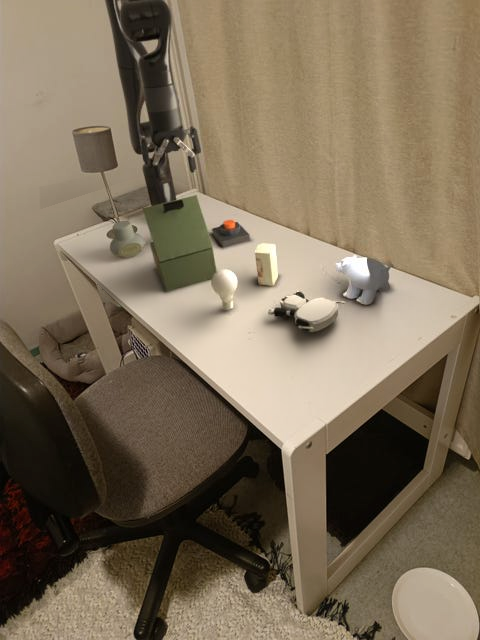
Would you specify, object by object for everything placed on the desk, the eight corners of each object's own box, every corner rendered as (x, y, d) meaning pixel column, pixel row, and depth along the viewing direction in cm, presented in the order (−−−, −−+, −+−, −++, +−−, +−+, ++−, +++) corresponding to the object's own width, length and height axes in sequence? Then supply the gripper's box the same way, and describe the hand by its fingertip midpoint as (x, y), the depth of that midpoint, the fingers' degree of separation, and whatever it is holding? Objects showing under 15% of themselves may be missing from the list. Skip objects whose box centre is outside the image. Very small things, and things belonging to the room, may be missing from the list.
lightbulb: (222, 319, 108) (216, 281, 101) (211, 307, 112) (205, 270, 106) (245, 310, 110) (240, 272, 103) (233, 298, 114) (228, 261, 108)
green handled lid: (142, 209, 115) (142, 202, 110) (196, 195, 118) (198, 189, 113) (159, 262, 115) (160, 258, 110) (212, 247, 119) (215, 243, 113)
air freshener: (115, 263, 137) (106, 234, 131) (110, 252, 143) (101, 224, 137) (149, 253, 140) (141, 224, 134) (143, 243, 146) (135, 215, 140)
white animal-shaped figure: (350, 271, 119) (351, 239, 113) (400, 290, 109) (404, 256, 104) (324, 288, 113) (325, 256, 108) (375, 310, 104) (378, 275, 98)
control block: (212, 234, 146) (210, 223, 143) (237, 227, 148) (236, 216, 145) (223, 248, 137) (221, 236, 135) (250, 240, 139) (248, 229, 137)
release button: (222, 226, 141) (221, 221, 140) (232, 223, 142) (232, 218, 141) (226, 230, 138) (225, 225, 137) (236, 227, 139) (236, 222, 138)
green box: (156, 269, 131) (149, 242, 126) (203, 256, 134) (198, 229, 129) (166, 291, 121) (159, 263, 115) (217, 276, 124) (212, 248, 119)
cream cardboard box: (263, 274, 122) (260, 242, 116) (278, 276, 121) (276, 243, 115) (257, 285, 118) (254, 251, 112) (273, 286, 117) (270, 253, 111)
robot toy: (265, 322, 106) (316, 343, 96) (263, 307, 104) (314, 327, 94) (297, 299, 112) (347, 316, 103) (296, 283, 110) (347, 300, 100)
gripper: (188, 98, 106) (198, 165, 116) (129, 109, 103) (146, 177, 113) (196, 103, 100) (207, 173, 110) (135, 115, 97) (151, 186, 107)
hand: (176, 175), depth 111 cm, fingers open, 8 cm apart
